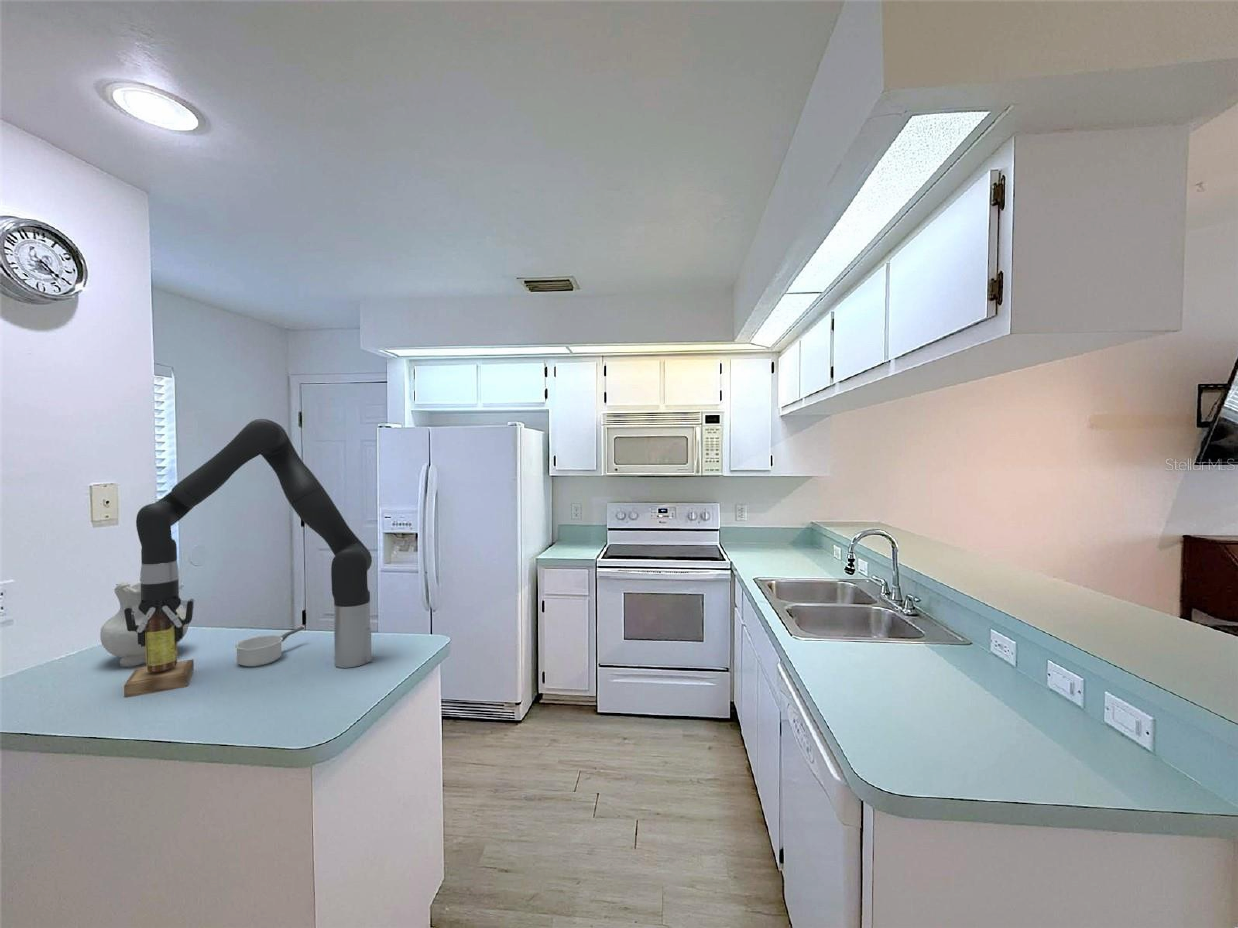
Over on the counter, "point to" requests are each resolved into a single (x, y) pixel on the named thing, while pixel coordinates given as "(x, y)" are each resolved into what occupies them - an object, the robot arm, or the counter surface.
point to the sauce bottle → (160, 640)
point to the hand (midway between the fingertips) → (161, 642)
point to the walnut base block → (158, 679)
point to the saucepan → (261, 649)
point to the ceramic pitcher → (116, 631)
